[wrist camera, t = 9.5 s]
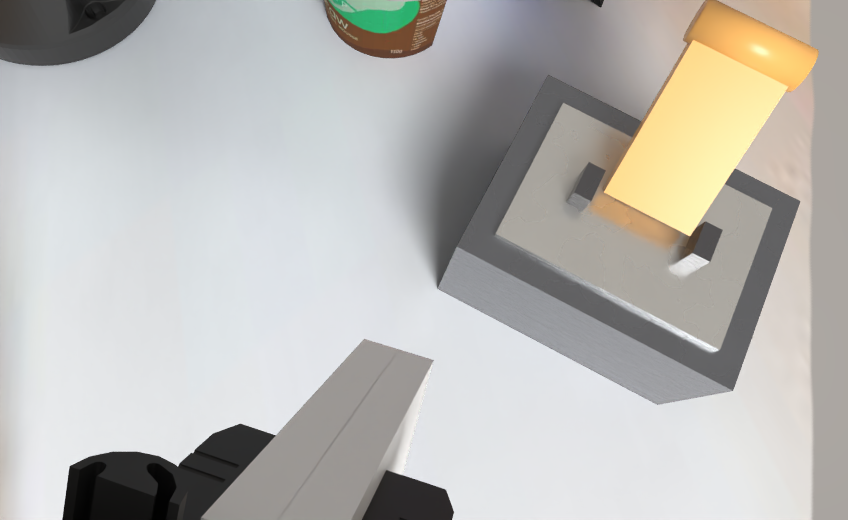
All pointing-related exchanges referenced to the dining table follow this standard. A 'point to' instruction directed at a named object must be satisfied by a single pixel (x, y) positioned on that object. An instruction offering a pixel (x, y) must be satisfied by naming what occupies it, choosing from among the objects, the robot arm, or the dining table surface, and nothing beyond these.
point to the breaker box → (617, 257)
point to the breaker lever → (707, 114)
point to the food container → (386, 25)
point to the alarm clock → (598, 2)
